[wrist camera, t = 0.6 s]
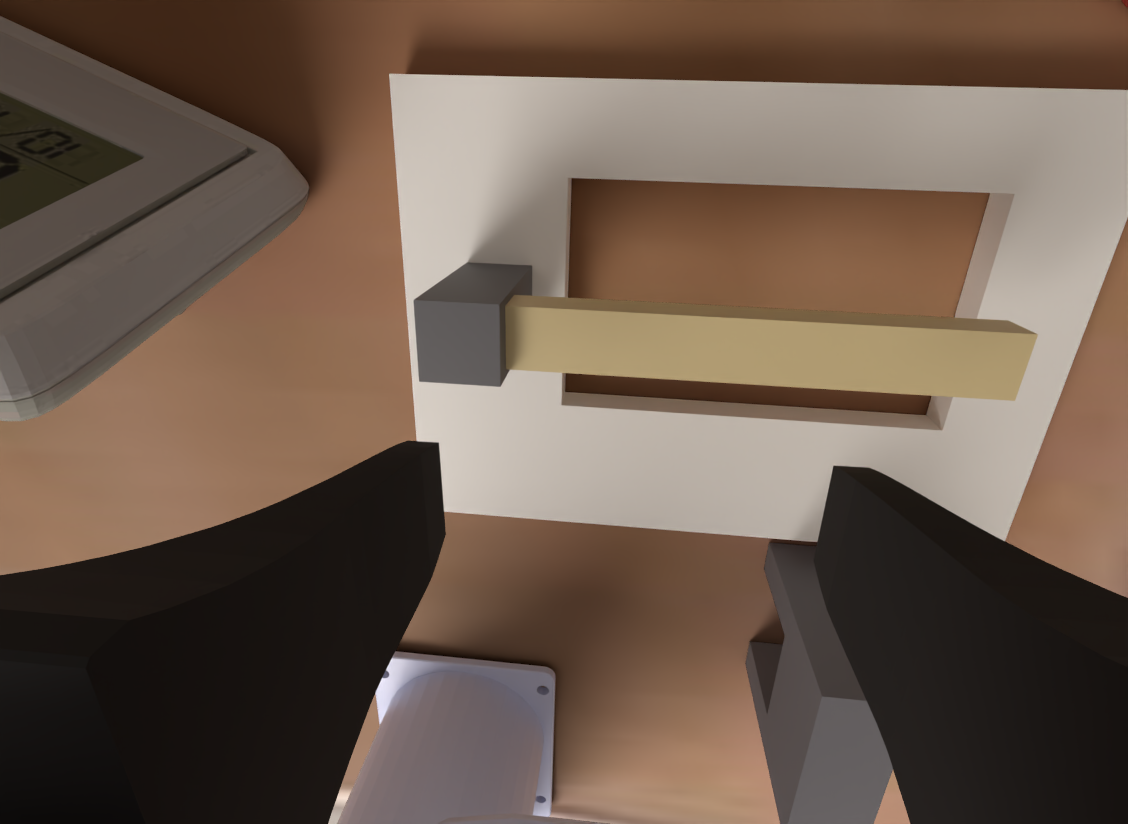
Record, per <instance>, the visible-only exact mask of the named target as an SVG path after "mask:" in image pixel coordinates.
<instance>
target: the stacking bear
mask: <svg viewBox="0 0 1128 824" xmlns="http://www.w3.org/2000/svg"><path fill="white" fill-rule="evenodd" d="M1122 2H1123V3H1124V5H1125V6H1126V7H1127V8H1128V0H1122Z"/></svg>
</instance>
